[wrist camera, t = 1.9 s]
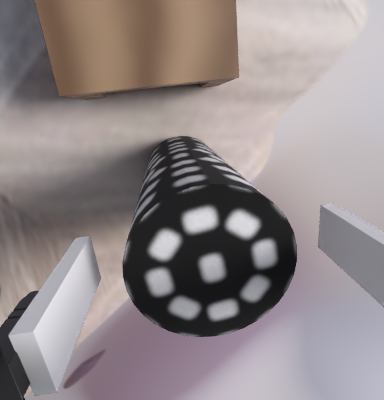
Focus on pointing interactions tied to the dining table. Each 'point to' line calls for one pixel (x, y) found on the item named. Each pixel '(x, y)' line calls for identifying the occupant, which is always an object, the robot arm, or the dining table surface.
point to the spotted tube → (204, 244)
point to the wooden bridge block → (138, 44)
